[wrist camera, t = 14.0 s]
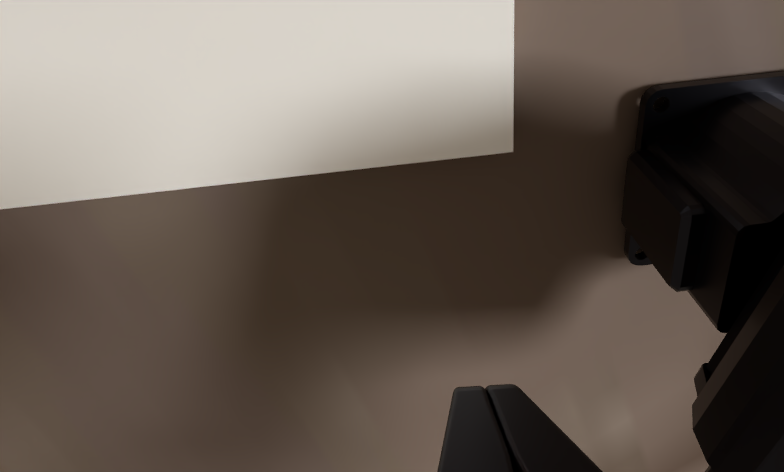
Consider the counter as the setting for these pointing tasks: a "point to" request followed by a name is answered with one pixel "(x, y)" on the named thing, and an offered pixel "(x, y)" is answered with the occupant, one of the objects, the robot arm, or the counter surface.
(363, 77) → the domino mat
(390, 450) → the counter surface
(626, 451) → the counter surface
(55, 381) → the counter surface
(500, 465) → the robot arm
